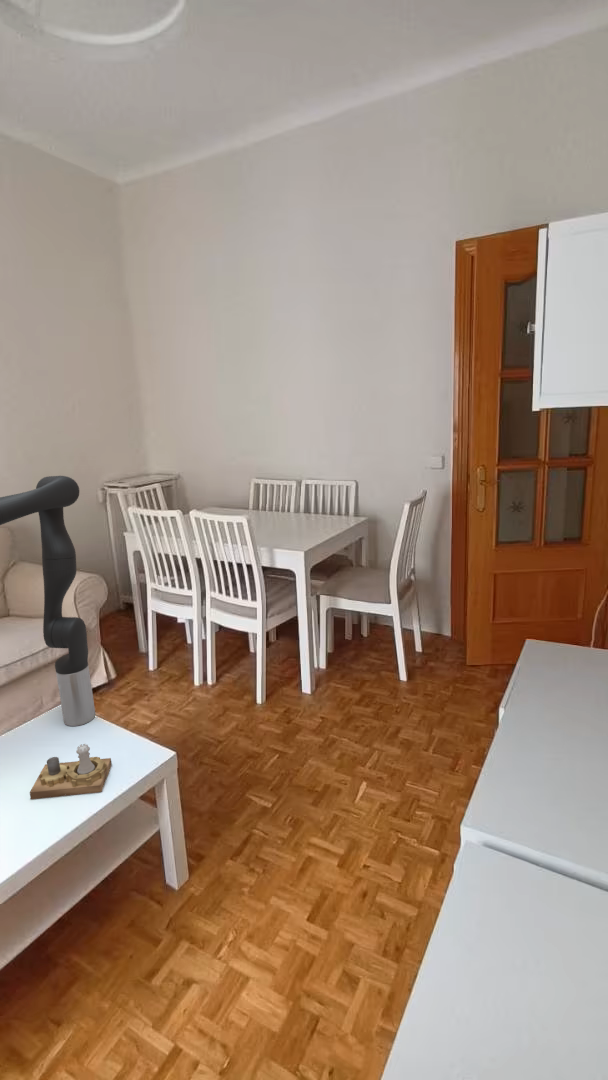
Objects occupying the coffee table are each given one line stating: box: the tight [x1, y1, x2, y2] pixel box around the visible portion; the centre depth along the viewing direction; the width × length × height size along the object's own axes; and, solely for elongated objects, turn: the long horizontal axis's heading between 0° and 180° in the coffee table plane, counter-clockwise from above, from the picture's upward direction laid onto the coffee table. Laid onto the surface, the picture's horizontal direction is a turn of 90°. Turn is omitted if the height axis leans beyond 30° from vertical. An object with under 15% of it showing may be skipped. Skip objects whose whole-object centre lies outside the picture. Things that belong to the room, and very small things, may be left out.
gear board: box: [29, 756, 113, 800], centre depth 141 cm, size 11×17×7 cm, turn 96°
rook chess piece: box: [76, 743, 95, 775], centre depth 141 cm, size 4×4×8 cm
